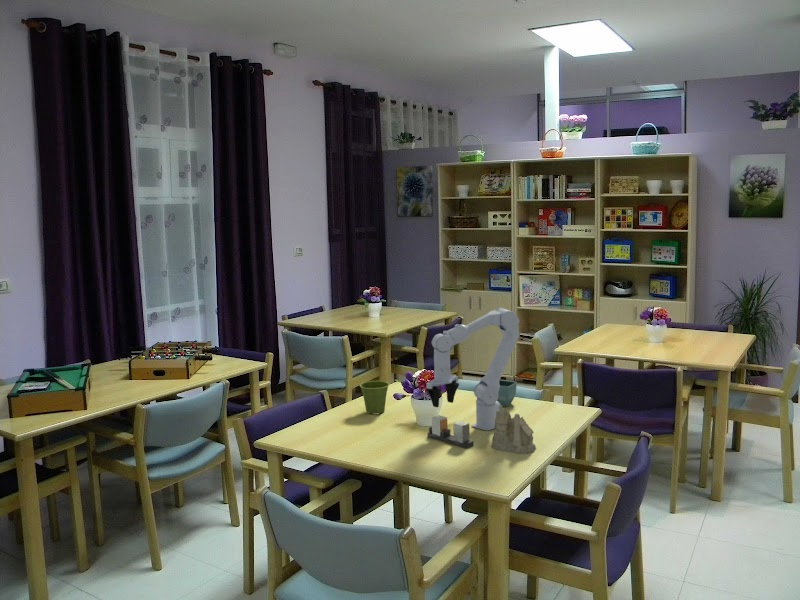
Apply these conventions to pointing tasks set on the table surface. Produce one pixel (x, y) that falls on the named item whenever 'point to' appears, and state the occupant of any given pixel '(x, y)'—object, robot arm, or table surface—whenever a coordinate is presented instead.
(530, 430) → the ceramic cottage
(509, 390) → the flower pot
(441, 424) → the grey and orange block
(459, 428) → the rail
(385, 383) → the plant pot
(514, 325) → the robot arm
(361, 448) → the table surface
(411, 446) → the table surface
